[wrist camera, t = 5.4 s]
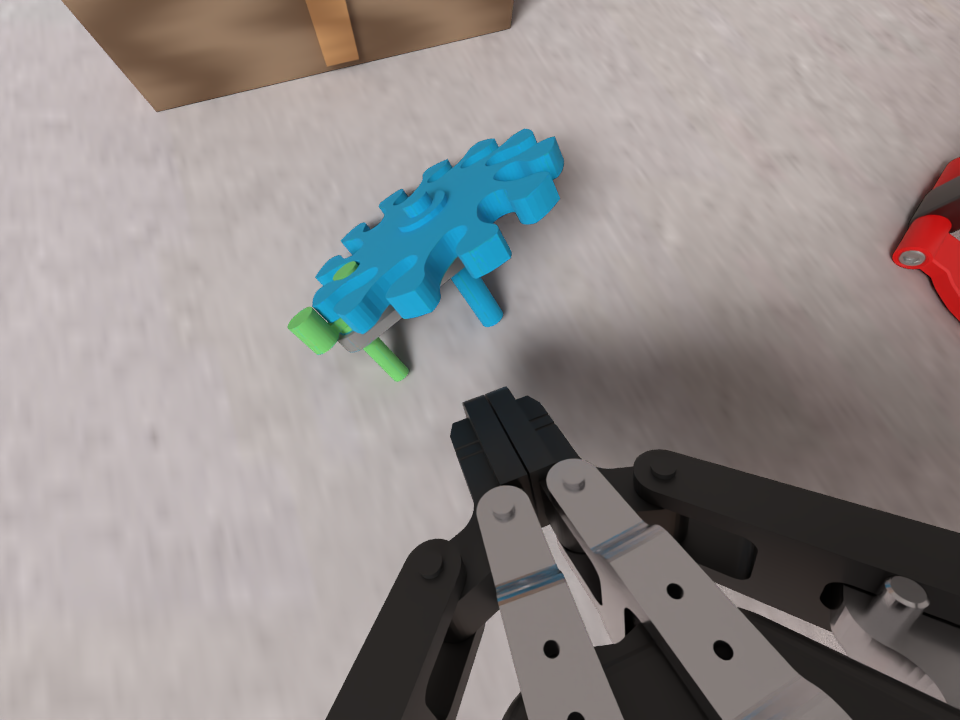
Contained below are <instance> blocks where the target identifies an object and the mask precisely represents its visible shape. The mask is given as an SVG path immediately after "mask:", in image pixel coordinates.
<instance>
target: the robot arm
mask: <svg viewBox="0 0 960 720" xmlns="http://www.w3.org/2000/svg"><path fill="white" fill-rule="evenodd" d="M463 407H464V411H465V414H466V417H467V418H466V419H463V420H461V421H458V422H455V423H453V424H452V429H451V435H450V438H451V440H452V443H453V446H454V449H455V452H456V455H457V458H458V460H459V463H460V466H461V469H462V472H463V475H464V477H465V480H466V483H467V486H468V488H469V491H470V494H471V497H472V499H473V502H474V511H473V515H472V517H471V519H470V521H469V523H468V524H467V526H466V527H465V528H464V529H463V530H462V531H461V532H460V533H458V534H457V535H456V536H455V537H454V538H452V539H451V540H450V541H447V540H444V539H432V540H428V541H425V542H423V543H422V544H420V545H419V546H417V547H416V548H415V549H414V550H413V551H412V552H411V553H410V554H409V556H408V558H407V559H406V561H405V563H404V565H403V567H402V569H401V571H400V573H399V575H398V577H397V579H396V581H395V583H394V585H393V587H392V589H391V591H390V593H389V595H388V597H387V599H386V601H385V603H384V605H383V607H382V609H381V611H380V613H379V615H378V617H377V619H376V621H375V623H374V624H373V626H372V628H371V630H370V632H369V634H368V636H367V638H366V640H365V642H364V644H363V646H362V648H361V650H360V652H359V654H358V656H357V658H356V660H355V662H354V664H353V666H352V668H351V670H350V672H349V674H348V676H347V678H346V680H345V682H344V684H343V686H342V688H341V690H340V692H339V694H338V696H337V698H336V700H335V702H334V704H333V706H332V708H331V710H330V712H329V714H328V715H327V717H326V719H325V720H456V716H457V713H458V710H459V707H460V704H461V701H462V697H463V694H464V691H465V688H466V685H467V682H468V679H469V675H470V672H471V669H472V666H473V663H474V660H475V657H476V653H477V650H478V647H479V644H480V641H481V638H482V634H483V631H484V627H485V622H486V621H487V620H488V619H489V618H491V617H492V616H493V615H494V614H495V613H496V612H497V611H498V610H499V609H500V612H501V616H502V620H503V624H504V628H505V632H506V636H507V639H508V643H509V647H510V651H511V655H512V659H513V663H514V666H515V670H516V674H517V678H518V682H519V686H520V689H521V692H520V693H519V694H518V696H517V697H516V698H515V699H514V700H513V702H512V703H511V705H510V706H509V708H508V710H507V711H506V713H505V715H504V717H503V719H502V720H960V533H958V532H954V531H950V530H947V529H943V528H940V527H936V526H933V525H929V524H926V523H922V522H919V521H915V520H912V519H908V518H905V517H901V516H898V515H894V514H891V513H887V512H883V511H880V510H876V509H873V508H869V507H866V506H862V505H859V504H855V503H852V502H848V501H845V500H841V499H838V498H834V497H831V496H827V495H823V494H820V493H816V492H813V491H809V490H806V489H802V488H799V487H795V486H792V485H788V484H785V483H781V482H778V481H774V480H771V479H767V478H764V477H760V476H756V475H753V474H749V473H746V472H742V471H739V470H735V469H732V468H728V467H725V466H721V465H718V464H714V463H711V462H707V461H704V460H700V459H696V458H693V457H689V456H686V455H682V454H679V453H675V452H672V451H668V450H650V451H647V452H645V453H643V454H641V455H640V456H639V457H638V458H637V459H636V460H635V462H634V467H625V468H615V469H603V468H598V467H595V466H594V465H592V464H591V463H589V462H587V461H585V460H582V459H581V458H580V457H579V456H578V455H577V453H576V452H575V450H574V449H573V448H572V446H571V445H570V443H569V442H568V441H567V439H566V438H565V437H564V435H563V434H562V432H561V431H560V430H559V428H558V427H557V425H556V424H554V421H553V420H552V419H551V417H550V416H549V415H548V413H547V412H546V410H545V409H544V408H543V406H542V405H541V403H540V402H538V401H536V400H534V399H533V398H531V397H529V396H524V397H522V398H519V399H516V400H515V398H514V397H513V395H512V393H511V392H510V390H509V389H508V388H507V387H503V388H500V389H498V390H495V391H492V392H489V393H487V394H485V396H484V395H482V396H479V397H476V398H473V399H471V400H468V401H465V402H463ZM549 524H550V525H551V527H552V529H553V531H554V532H555V534H556V537H557V542H558V547H559V549H560V551H561V553H562V554H563V556H564V558H565V559H566V561H567V562H568V564H569V566H570V567H571V569H572V570H573V572H574V574H575V575H576V577H577V578H578V580H579V582H580V583H581V585H582V586H583V588H584V590H585V591H586V593H587V595H588V596H589V598H590V599H591V601H592V603H593V604H594V606H595V607H596V609H597V611H598V613H599V614H600V616H601V619H602V621H603V623H604V626H605V629H606V631H607V633H608V635H609V637H610V639H611V641H612V643H613V644H610V645H603V646H596V647H593V644H592V642H591V639H590V637H589V635H588V632H587V630H586V627H585V625H584V623H583V620H582V618H581V615H580V613H579V610H578V608H577V606H576V603H575V601H574V598H573V596H572V594H571V591H570V589H569V586H568V584H567V582H566V580H565V577H564V575H563V573H562V572H561V571H559V569H558V567H557V565H556V563H555V560H554V558H553V556H552V553H551V551H550V548H549V546H548V543H547V541H546V538H545V536H544V533H543V531H542V529H541V528H542V527H545V526H547V525H549ZM714 582H716V583H718V584H720V585H723V586H725V587H727V588H730V589H732V590H734V591H737V592H739V593H741V594H744V595H746V596H748V597H751V598H753V599H755V600H758V601H760V602H763V603H765V604H767V605H770V606H772V607H774V608H777V609H779V610H781V611H784V612H786V613H788V614H791V615H793V616H795V617H798V618H800V619H802V620H805V621H807V622H809V623H812V624H814V625H816V626H819V627H821V628H823V629H826V630H828V631H830V632H833V634H834V637H835V638H836V640H837V641H838V643H839V644H840V646H841V647H842V648H843V649H844V650H845V652H846V654H847V656H846V655H844V654H841V653H839V652H837V651H835V650H833V649H831V648H829V647H827V646H825V645H822V644H820V643H818V642H816V641H814V640H812V639H810V638H808V637H806V636H803V635H801V634H799V633H797V632H795V631H793V630H791V629H789V628H787V627H784V626H782V625H780V624H778V623H776V622H774V621H772V620H770V619H768V618H765V617H763V616H761V615H759V614H756V613H754V612H751V611H748V610H745V609H743V608H739V607H736V606H735V605H734V604H733V602H732V601H731V600H730V599H729V598H728V597H727V596H726V595H725V594H724V593H723V592H722V591H721V589H720V588H719V587H718V586H717V585H716V584H715V583H714Z"/></svg>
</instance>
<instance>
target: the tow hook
mask: <svg viewBox="0 0 960 720" xmlns="http://www.w3.org/2000/svg"><path fill="white" fill-rule="evenodd" d="M957 230H960V157H959V158H956V159H954V160H952V161H951V162H950V163H949V164H948V165H947V166H946V168H945V169H944V171H943V173H942V174H941V176H940V177H939V179H938V181H937V182H936V184H935V186H934V187H933V189H932V190H931V191H930V192H929V193H928V194H927V195H926V196H925V197H924V199H923V201H922V202H921V204H920V206H919V207H918V209H917V211H916V212H915V214H914V216H913V217H912V219H911V221H910V223H909V229H908V231H907V232H906V234H905V236H904V237H903V239H902V241H901V242H900V244H899V246H898V247H897V249H896V251H895V252H894V254H893V256H892V259H893V261H894V263H895V264H896V265H898V266H900V267H903V268H907V269H920V270H922V271H923V272H924V273H926V274H927V275H928V276H930V277H931V279H932V282H933V284H934V287H935V289H936V291H937V293H938V294H939V296H940V297H941V299H942V300H943V302H944V304H945V305H946V307H947V308H948V310H949V311H950V312H951V313H952V314H953V315H954V316H955V317H956V318H957V319H958V320H959V321H960V241H959V240H957V239H956V238H955V237H953V236H952V235H951V234H950V233H952V232H955V231H957Z"/></svg>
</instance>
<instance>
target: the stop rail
mask: <svg viewBox="0 0 960 720" xmlns="http://www.w3.org/2000/svg"><path fill="white" fill-rule="evenodd" d="M62 2H63V3H64V4H65V5H66V6H67V7H68V9H69V10H70V11H71V12H72V13H73V14H74V16H75V17H76V18H77V19H78V20H79V21H80V23H81V24H82V25H83V26H84V27H85V29H86V30H87V31H88V32H89V33H90V34H91V36H92V37H93V38H94V39H95V40H96V41H97V43H98V44H99V45H100V46H101V47H102V48H103V50H104V51H105V52H106V53H107V54H108V55H109V57H110V58H111V59H112V60H113V61H114V62H115V64H116V65H117V66H118V67H119V68H120V70H121V71H122V72H123V73H124V74H125V75H126V77H127V78H128V79H129V80H130V81H131V82H132V84H133V85H134V86H135V87H136V88H137V89H138V91H139V92H140V93H141V94H142V95H143V96H144V98H145V99H146V100H147V101H148V102H149V103H150V105H151V106H152V107H153V108H154V109H155V110H156V112H158V111H162V110H166V109H170V108H174V107H179V106H183V105H187V104H191V103H196V102H200V101H204V100H208V99H213V98H217V97H221V96H225V95H230V94H234V93H238V92H242V91H246V90H251V89H255V88H259V87H263V86H268V85H272V84H276V83H280V82H285V81H289V80H293V79H297V78H302V77H306V76H310V75H314V74H319V73H323V72H327V71H331V70H335V69H340V68H344V67H348V66H352V65H357V64H361V63H365V62H369V61H374V60H378V59H382V58H386V57H391V56H395V55H399V54H403V53H407V52H412V51H416V50H420V49H424V48H429V47H433V46H437V45H441V44H446V43H450V42H454V41H458V40H463V39H467V38H471V37H475V36H479V35H484V34H488V33H492V32H496V31H501V30H505V29H509V28H510V26H511V18H512V10H513V3H514V0H62Z"/></svg>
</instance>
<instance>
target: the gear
mask: <svg viewBox="0 0 960 720" xmlns="http://www.w3.org/2000/svg"><path fill="white" fill-rule="evenodd" d="M563 166H564V159H563V157H562V154H561V151H560V149H559V146H558V144H557V141H556V138H555V136H554V137H550V138H547V139H545V140H543V141H541V142H539V143H537V141H536V139H535V136H534V134H533V132H532V131H531V130H529V129H523V130H521V131H519V132H517V133H516V134H514V135H513V136H512V137H510V138H509V139H508V140H507V141H506V142H505V143H504V144H502V145H501V146H500V147H498V145H497V143H496V141H495V139H487V140H483V141H480V142H478V143H476V144H475V145H474V146H472V147H471V148H470V149H469V150H468V152H467V153H466V155H465V156H464V157H463V158H462V160H461V161H460V162H459V163H458V164H456V165H455V166H454V167H453V168H452V166H451V164H450V162H449V161H448V159H447V160H444V161H442V162H440V163H438V164H436V165H434V166H432V167H430V168H428V169H427V170H426V171H425V172H424V174H423V180H422V182H421V184H420V185H419V187H418V188H417V189H416V190H415V191H414V193H413V194H412V195H411V196H409V197H408V196H407V195H406V193H405V192H404V190H403V189H400V190H398V191H397V192H395V193H393V194H392V195H390V196H389V197H388V198H386V199H385V200H383V201H382V202H381V203H380V204H379V208H380V209H381V210H382V212H383V213H384V218H383V220H382V221H381V222H380V223H379V224H378V225H377V226H376V227H374V228H373V229H370V228H369V227H368V226H367V224H366V223H360V224H359V225H357V226H356V227H355V228H354V229H352V230H351V231H350V232H349V233H348V234H347V235H346V236H345V237H344V238H343V239H342V240H341V242H342V243H343V244H344V246H345V247H346V248H347V249H348V250H349V252H350V253H351V254H352V256H350V257H348V258H345V259H343V258H342V256H340V255H338V256H335V257H333V258H331V259H329V260H328V261H327V262H326V263H325V265H324V266H323V267H322V268H321V270H320V271H319V272H318V274H317V275H316V277H315V278H316V279H317V280H318V281H319V282H320V283H321V284H322V285H323V287H321V288H320V289H319V290H318V291H317V292H316V294H315V295H314V298H313V305H312V307H313V308H314V309H315V310H316V311H317V312H318V313H319V314H320V315H321V316H322V317H323V318H324V319H325V320H327V321H328V323H327V322H326V321H325V320H324V319H323V318H322V317H321V316H320V315H319V314H318V313H317V312H316V311H315V310H314V309H313V308H312V307H307V308H305V309H303V310H302V311H300V312H299V313H298V314H297V315H295V316H294V317H293V319H292V320H291V321H290V322H289V324H288V329H289V330H290V331H291V332H292V333H294V334H295V335H296V336H297V337H298V338H299V339H300V340H301V341H302V342H304V343H305V344H306V345H307V346H308V347H309V348H310V349H311V350H312V351H314V352H315V353H316V354H317V355H320V354H323V353H325V352H327V351H328V350H329V349H331V348H332V347H333V346H334V345H335V343H336V342H337V341H338V342H339V343H340V344H341V345H342V346H343V347H344V348H345V349H346V350H348V351H349V352H357V351H360V350H362V349H364V350H365V351H366V352H367V353H368V354H369V355H370V356H371V357H372V358H373V359H374V360H375V361H376V362H377V363H378V364H379V365H380V366H381V367H382V368H383V369H384V370H385V371H386V372H387V373H388V374H389V375H390V376H391V377H392V378H393V380H394V381H397V382H398V381H401V380H403V379H404V378H405V377H406V376H407V374H408V371H409V370H408V368H407V367H406V366H405V365H404V364H403V363H402V362H401V361H400V360H399V359H398V357H397V356H396V355H395V354H394V353H393V352H392V351H391V350H390V349H389V348H388V347H387V346H386V345H385V344H384V343H383V341H382V340H381V339H380V338H379V336H380V335H381V334H383V333H384V332H385V331H386V330H387V329H389V328H390V327H391V326H392V325H394V324H395V323H396V322H397V321H399V320H400V319H401V318H403V319H409V318H415V317H418V316H422V315H425V314H427V313H430V312H432V311H433V310H434V309H435V308H436V307H437V305H438V304H439V302H440V299H441V294H440V287H441V286H442V285H443V284H444V283H445V282H447V281H448V280H449V279H450V278H451V280H452V281H453V283H454V284H455V285H456V287H457V288H458V290H459V291H460V293H461V294H462V296H463V297H464V298H465V300H466V301H467V303H468V304H469V306H470V307H471V309H472V310H473V311H474V313H475V314H476V316H477V317H478V319H479V320H480V322H481V323H482V324H483V326H485V327H490V326H493V325H495V324H497V323H498V322H499V321H500V320H501V319H502V317H503V312H502V310H501V309H500V307H499V305H498V304H497V302H496V301H495V299H494V297H493V296H492V294H491V293H490V291H489V290H488V288H487V286H486V285H485V283H484V282H483V280H482V279H481V276H484V275H486V274H487V273H489V272H491V271H493V270H494V269H496V268H497V267H499V266H500V265H502V264H503V263H505V262H506V261H507V260H509V259H510V258H511V255H512V252H511V250H510V248H509V246H508V244H507V242H506V240H505V239H504V237H503V235H502V233H501V231H500V230H499V228H498V226H497V225H496V224H493V223H494V222H495V221H496V220H497V219H498V218H500V217H501V216H503V215H505V214H508V213H511V212H516V214H517V216H518V218H519V220H520V222H521V223H522V224H534V223H537V222H538V221H539V220H541V219H542V218H543V217H544V216H545V215H546V214H548V213H549V212H550V210H551V209H552V208H553V207H554V206H555V205H556V203H557V202H558V201H559V200H560V197H559V195H558V192H557V190H556V187H555V185H554V183H553V180H554V179H555V178H557V177H558V176H559V175H560V174H561V172H562V170H563Z"/></svg>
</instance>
